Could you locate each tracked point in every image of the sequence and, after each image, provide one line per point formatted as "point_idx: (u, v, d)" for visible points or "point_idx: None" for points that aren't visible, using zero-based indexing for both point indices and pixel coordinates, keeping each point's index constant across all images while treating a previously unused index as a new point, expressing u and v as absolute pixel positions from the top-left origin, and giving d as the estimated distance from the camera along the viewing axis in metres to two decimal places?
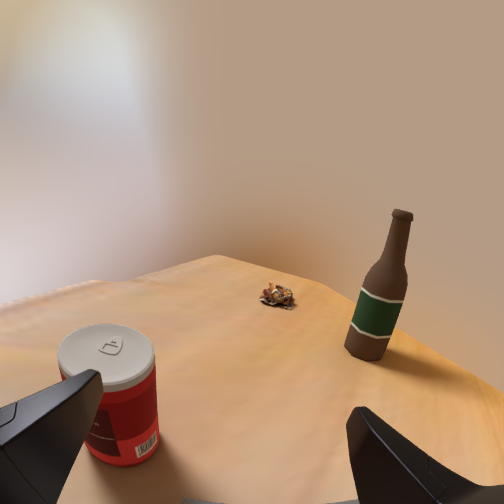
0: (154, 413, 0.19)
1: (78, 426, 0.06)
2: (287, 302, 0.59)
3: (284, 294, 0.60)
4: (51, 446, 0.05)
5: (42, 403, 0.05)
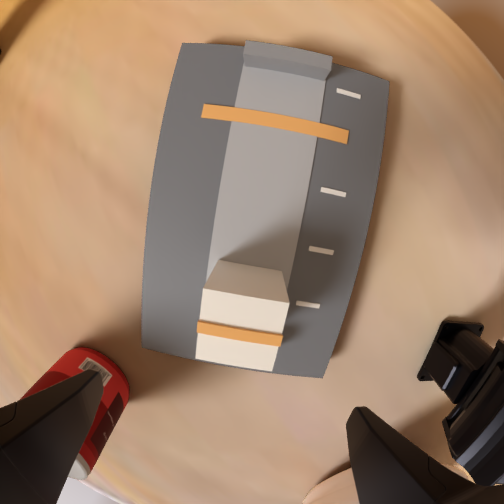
0: None
1: (78, 426, 0.06)
2: None
3: None
4: (51, 446, 0.05)
5: (42, 403, 0.05)
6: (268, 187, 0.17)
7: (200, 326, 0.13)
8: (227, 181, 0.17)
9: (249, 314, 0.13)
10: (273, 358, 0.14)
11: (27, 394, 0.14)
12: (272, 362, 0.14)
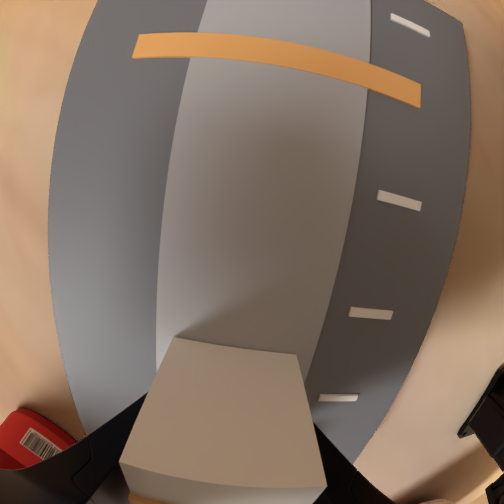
0: (4, 462, 0.07)
1: None
2: None
3: None
4: None
5: (115, 434, 0.05)
6: (270, 191, 0.08)
7: (136, 502, 0.04)
8: (181, 179, 0.08)
9: (233, 501, 0.04)
10: None
11: None
12: None
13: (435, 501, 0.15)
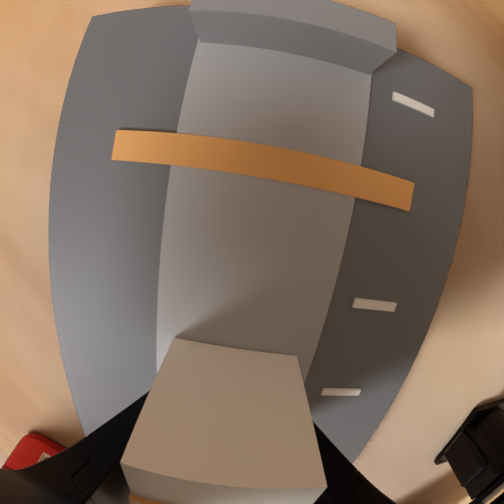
0: None
1: None
2: None
3: None
4: None
5: (115, 433, 0.05)
6: (252, 304, 0.08)
7: (136, 503, 0.04)
8: (170, 291, 0.08)
9: (234, 502, 0.04)
10: None
11: None
12: None
13: None
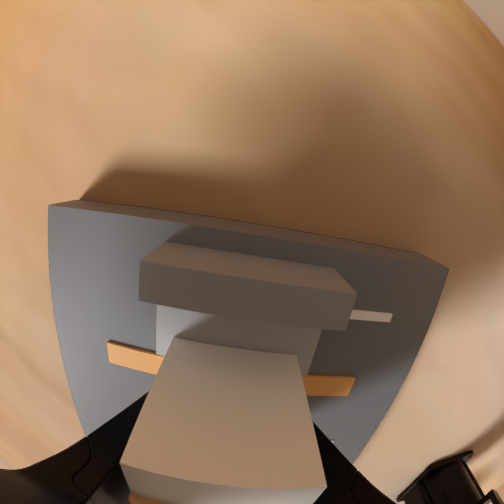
0: None
1: None
2: None
3: None
4: None
5: (115, 434, 0.05)
6: None
7: (136, 503, 0.04)
8: None
9: (233, 502, 0.04)
10: None
11: None
12: None
13: None
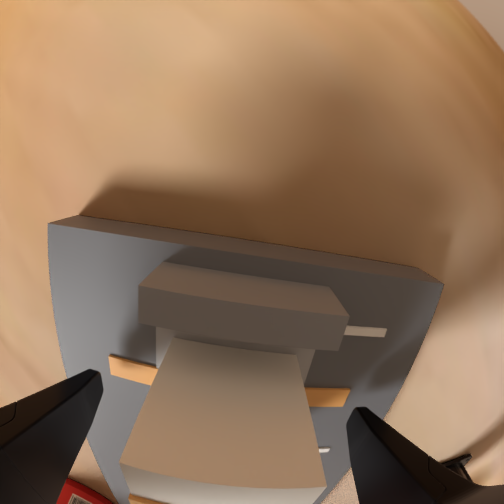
0: None
1: (78, 426, 0.06)
2: None
3: None
4: (51, 446, 0.05)
5: (42, 403, 0.05)
6: None
7: (136, 503, 0.04)
8: None
9: (233, 502, 0.04)
10: None
11: None
12: None
13: None
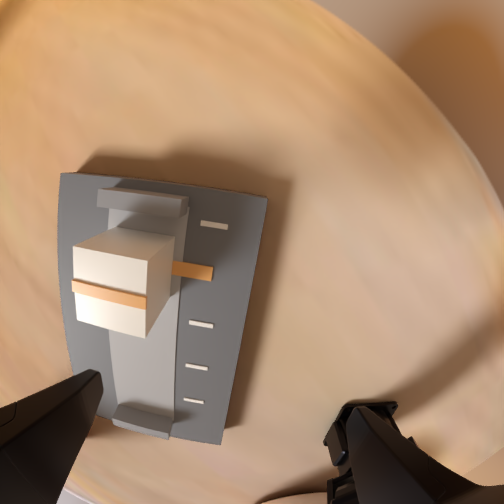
0: None
1: (78, 426, 0.06)
2: None
3: None
4: (51, 446, 0.05)
5: (42, 403, 0.05)
6: None
7: (74, 285, 0.12)
8: None
9: (112, 272, 0.12)
10: (143, 323, 0.12)
11: None
12: (143, 328, 0.12)
13: None
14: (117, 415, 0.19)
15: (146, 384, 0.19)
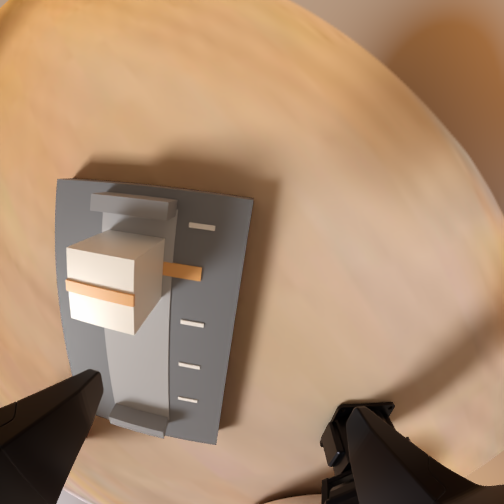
0: None
1: (78, 426, 0.06)
2: None
3: None
4: (51, 446, 0.05)
5: (42, 403, 0.05)
6: None
7: (68, 284, 0.12)
8: None
9: (102, 272, 0.12)
10: (132, 320, 0.13)
11: None
12: (132, 325, 0.13)
13: None
14: (114, 414, 0.19)
15: (141, 383, 0.20)
